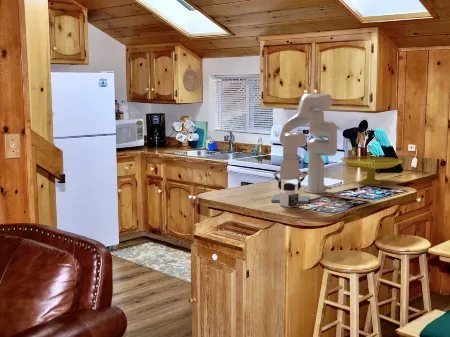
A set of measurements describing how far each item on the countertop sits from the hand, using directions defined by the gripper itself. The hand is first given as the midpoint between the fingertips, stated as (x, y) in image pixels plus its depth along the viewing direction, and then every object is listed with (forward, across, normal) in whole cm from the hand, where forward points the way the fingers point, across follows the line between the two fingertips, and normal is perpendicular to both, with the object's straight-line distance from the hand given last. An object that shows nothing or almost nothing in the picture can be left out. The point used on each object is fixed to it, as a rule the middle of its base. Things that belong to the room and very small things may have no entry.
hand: (289, 189), depth 315 cm
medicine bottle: (+9, 0, 0) cm, 9 cm away
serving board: (+9, 0, -14) cm, 17 cm away
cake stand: (+9, -48, -85) cm, 98 cm away
